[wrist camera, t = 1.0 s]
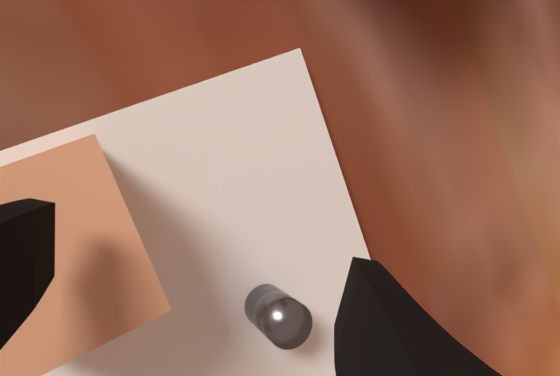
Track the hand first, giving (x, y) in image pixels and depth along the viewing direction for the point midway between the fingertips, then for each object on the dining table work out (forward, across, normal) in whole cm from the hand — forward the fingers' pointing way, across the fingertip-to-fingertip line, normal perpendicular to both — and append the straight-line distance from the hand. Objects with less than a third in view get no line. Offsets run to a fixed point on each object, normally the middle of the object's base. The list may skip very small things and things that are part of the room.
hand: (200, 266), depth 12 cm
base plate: (+9, +2, +7) cm, 11 cm away
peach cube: (+7, +7, +4) cm, 10 cm away
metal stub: (+9, -2, +7) cm, 12 cm away
